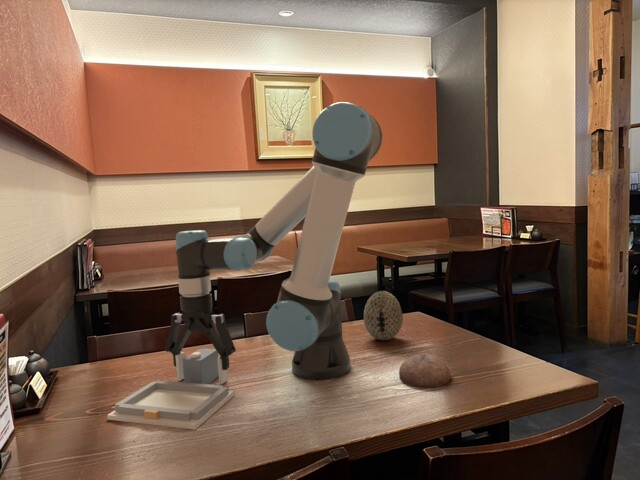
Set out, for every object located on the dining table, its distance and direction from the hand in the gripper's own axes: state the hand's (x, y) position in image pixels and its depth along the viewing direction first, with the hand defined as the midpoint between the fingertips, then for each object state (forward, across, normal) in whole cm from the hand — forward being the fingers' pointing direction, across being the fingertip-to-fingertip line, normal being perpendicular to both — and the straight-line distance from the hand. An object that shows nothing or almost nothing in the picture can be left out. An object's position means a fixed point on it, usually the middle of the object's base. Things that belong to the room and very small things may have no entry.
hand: (202, 380), depth 113 cm
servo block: (0, 0, 0) cm, 0 cm away
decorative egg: (0, -39, -39) cm, 55 cm away
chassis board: (0, -2, +14) cm, 14 cm away
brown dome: (+1, -53, -11) cm, 54 cm away
